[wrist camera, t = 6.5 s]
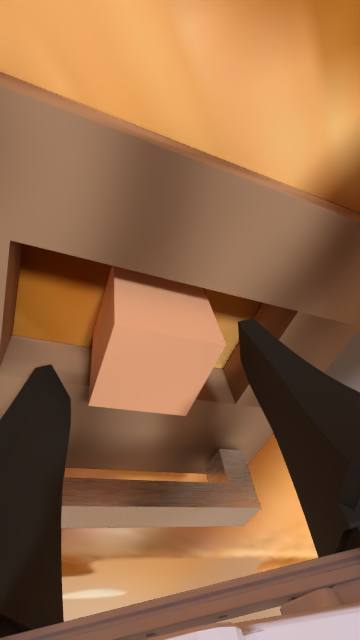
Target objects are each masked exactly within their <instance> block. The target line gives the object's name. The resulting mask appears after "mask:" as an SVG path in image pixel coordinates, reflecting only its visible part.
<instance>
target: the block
mask: <svg viewBox="0 0 360 640" xmlns="http://www.w3.org/2000/svg"><path fill="white" fill-rule="evenodd" d="M225 347H226V343H225V341H224V338H223V336H222V333H221V331H220V328H219V326H218V323H217V321H216V318H215V316H214V313H213V311H212V308H211V306H210V303H209V301H208V298H207V296H206V293H205V291H204V288H201V287H197V286H193V285H189V284H185V283H181V282H177V281H173V280H169V279H165V278H161V277H157V276H153V275H149V274H145V273H141V272H136V271H132V270H128V269H124V268H120V267H116V266H112V268H111V272H110V275H109V279H108V282H107V286H106V289H105V293H104V296H103V300H102V303H101V307H100V310H99V314H98V317H97V321H96V324H95V328H94V332H93V346H92V360H91V374H90V389H89V403H88V406H95V407H105V408H114V409H124V410H133V411H143V412H152V413H162V414H171V415H180V416H186V415H187V413H188V411H189V410H190V408H191V406H192V404H193V403H194V401H195V399H196V397H197V396H198V394H199V392H200V390H201V389H202V387H203V385H204V383H205V382H206V380H207V378H208V376H209V375H210V373H211V371H212V369H213V368H214V366H215V364H216V362H217V361H218V359H219V357H220V355H221V354H222V352H223V350H224V349H225Z"/></svg>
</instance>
